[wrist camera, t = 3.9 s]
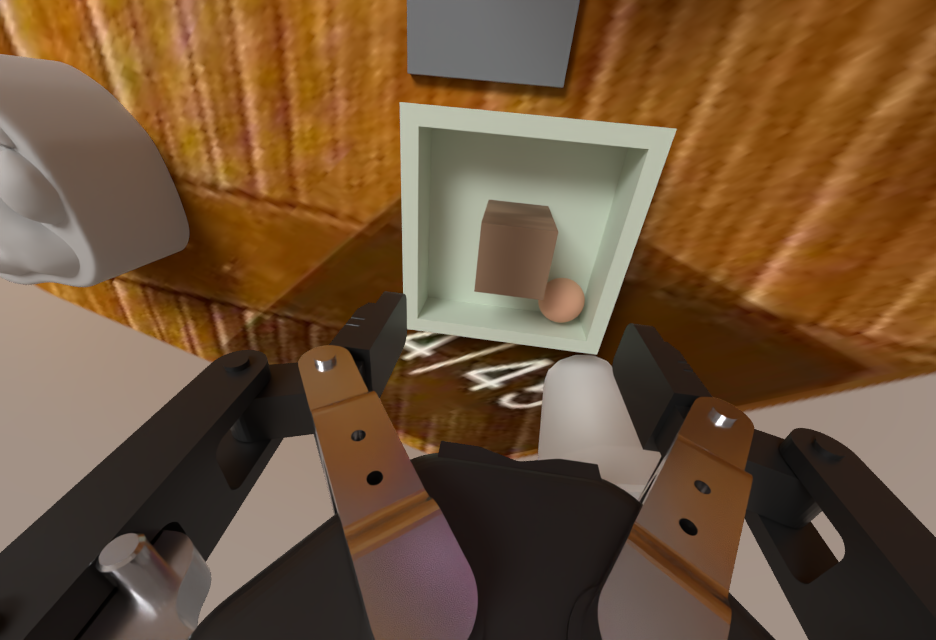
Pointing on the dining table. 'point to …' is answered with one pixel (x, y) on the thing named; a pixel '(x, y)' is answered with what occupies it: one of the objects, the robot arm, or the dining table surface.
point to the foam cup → (592, 423)
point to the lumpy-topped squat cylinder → (78, 181)
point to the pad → (491, 40)
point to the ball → (562, 300)
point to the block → (515, 249)
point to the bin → (531, 182)
